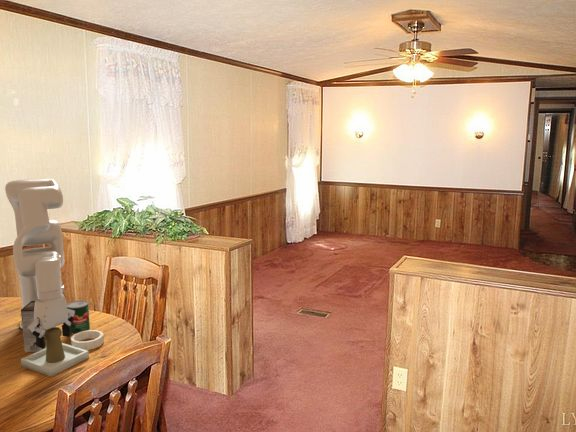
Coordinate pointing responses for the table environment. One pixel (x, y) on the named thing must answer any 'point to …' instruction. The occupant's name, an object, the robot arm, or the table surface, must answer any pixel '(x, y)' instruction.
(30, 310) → the coffee box
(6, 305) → the table surface
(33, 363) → the tray
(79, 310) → the canned tomato
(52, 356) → the cork
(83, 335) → the collar
